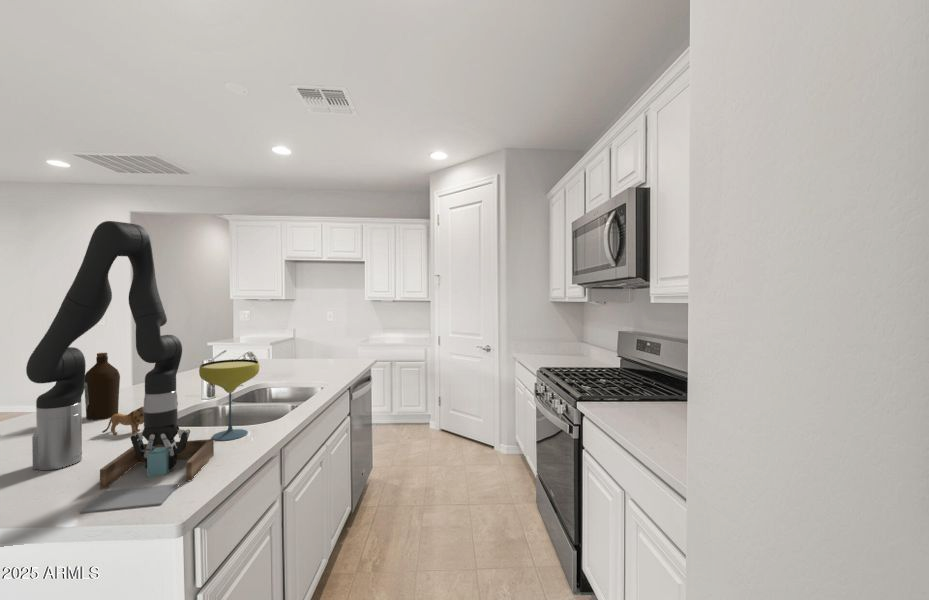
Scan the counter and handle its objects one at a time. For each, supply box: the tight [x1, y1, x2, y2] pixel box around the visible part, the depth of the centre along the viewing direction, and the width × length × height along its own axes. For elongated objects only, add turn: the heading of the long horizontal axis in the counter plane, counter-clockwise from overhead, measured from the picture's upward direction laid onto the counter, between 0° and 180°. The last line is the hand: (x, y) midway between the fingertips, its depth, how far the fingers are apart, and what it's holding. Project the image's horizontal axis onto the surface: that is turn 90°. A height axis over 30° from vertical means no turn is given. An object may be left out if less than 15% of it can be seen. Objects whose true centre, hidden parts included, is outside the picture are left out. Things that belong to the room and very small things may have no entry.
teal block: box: [146, 447, 172, 477], centre depth 114 cm, size 4×5×6 cm
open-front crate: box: [99, 438, 215, 490], centre depth 114 cm, size 20×17×5 cm
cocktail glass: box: [198, 358, 260, 442], centre depth 142 cm, size 18×18×25 cm
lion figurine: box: [101, 405, 144, 436], centre depth 144 cm, size 15×5×9 cm, turn 104°
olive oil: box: [84, 352, 121, 421], centre depth 160 cm, size 11×11×25 cm
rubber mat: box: [78, 483, 180, 514], centre depth 99 cm, size 16×10×1 cm, turn 105°
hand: (161, 468), depth 114 cm, fingers closed on teal block, 4 cm apart
